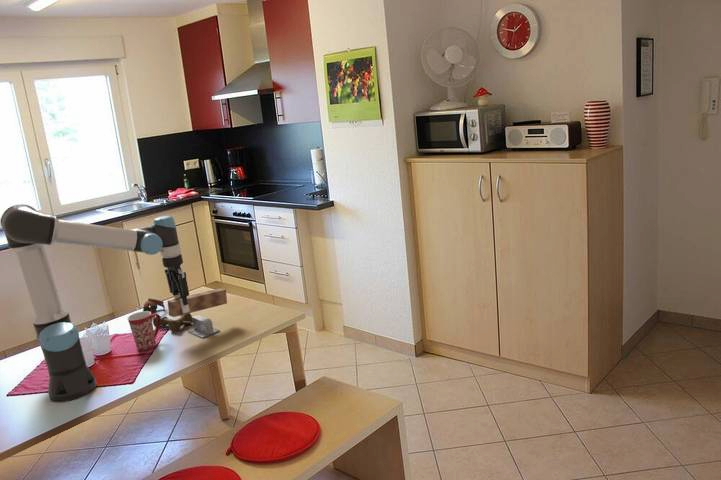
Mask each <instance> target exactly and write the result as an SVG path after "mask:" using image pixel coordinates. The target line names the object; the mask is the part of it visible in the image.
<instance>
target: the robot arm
mask: <svg viewBox="0 0 721 480" xmlns="http://www.w3.org/2000/svg"><path fill="white" fill-rule="evenodd" d="M0 225H1V228H2V230H3V232H4V235H5V239H6V242H7V245H8V248H9V250H11V251H14V252H15V253H16V256H17V259H18V263H19V266H20V269H21V271H22V272H21V273H22V275H23V276H22V277H23V278H24V279H23V280H24V283H25V286H26V289H27V291H28V295H29V298H30V301H31V302H30V303H31V304H32V308H33V312H34V315H35V317H34V318H33V320H32V325H33V328H34V330H35V334H36V336H35V337H36V340H37V342H38V344H39V346H40V349H41V350H42V354H43V358H44V361H45V364H46V368H47V372H48V375H49V379H48V388H47V394H48V397H49V398H48V399H49V400H50V401H52V402H55V403H61V402H67V401H72V400H75V399H78V398H79V399H80V398H82V397H83V396H85V395H87V394H89V393H91V392H92V391H94V389H95V388H96V387H97V385H98V383H97V380H96V377H95V376H94V374H93V372H92V371H91V370H90V368H89V367H88V365H87V362H86V359H85V356H84V355H85V354H84V351H83V348H82V344H81V339H80V332H79V330H78V328H77V326H76V325H75V324H73V323H72V319H71V317H70V314H69V311H68V310H66V309H64V308H63V307H62V304H61V300H60V299H61V298H60V295H59V294H58V289H57V286H56V282H55V280H54V276H53V273H52V270H51V266H50V263H49V260H48V259H49V258H48V255H47V253H46V250H45V245H47V246H48V245H49V246H51V245H53V244H55V243H59V244H65V245H66V244H67V245H77V246H85V247H86V246H87V247H95V248H100V249H101V248H102V249H111V250H120V251H129V252H130V251H131V252H137V253H144V254H146V255H150V256H153V255H157V254H158V253H160V257H162V258H161V261H162V266H163V267H164V268H166V269H164V273H165V276H166V280H167V285H168V289H169V293H170V294H172V295H173V299H177V298H179V299H180V303H181V308H182V312H183V314H184V313H187V312H189V311H190V310H189V305H188V301H187V296H190V291H189V286H188V281H187V273H186V272H185V271H184V272H183V270H182V267H181V265H183V263H184V260H183V255H182V254H181V253H182V250H181V249H182V248H181V245H180V242H179V237H178V232H177V226H176V221H175V219H174V217H173V216H171V215H162V216H159V217H156V218H153V224H151V225H145V226H142V227H137V228H131V229H129V228H121V227H116V226H115V227H114V226H106V225H99V224H93V223H92V224H91V223H84V222H79V221H78V222H77V221H71V220H63V219H58V218H57V217H56V215H49V214H45V213H41V212H39V211H37V209H36V208H34V207H33V206H30V205H28V204H15V205H12V206H9V207H8V208H7V209H6V210H4V212H3V213H2V214H1V217H0Z"/></svg>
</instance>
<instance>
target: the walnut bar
mask: <svg viewBox="0 0 721 480" xmlns="http://www.w3.org/2000/svg"><path fill="white" fill-rule="evenodd" d="M227 298H228V297H227V289H225V288H221V287H220V288H215V289H212V290H207V291H201V292H198V293H196V294H195V293H194V294H189V296H187V301H188V305H189V310H190V311H189V312H187V313H184V314H188V313H190V314H191V313H194V312H195V313H196V312H199V311H203V310H207V309H210V308H215V307H219V306H222V305H226V304H227V305H228V299H227ZM167 308H168V316H170V317H173V318H176V317H181V315H184V314H183V312H182V308H181V303H180V299H179V298H177V299H174V298H173V299H169V300H167Z"/></svg>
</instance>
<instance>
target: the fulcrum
mask: <svg viewBox="0 0 721 480" xmlns="http://www.w3.org/2000/svg"><path fill="white" fill-rule="evenodd" d="M191 318H192V323H191V324H192V326H193V328H191V329H190V330H187V333H188V334H191V335H194V336H196V337H198V338H200V339H206V338H208V337H210V336H212V335H216V334H217V333H220V332H221V331H220V329H217V328H215V327H214V326H213V322H212V319H211V318H208V317H205V316H202V315H200V314H195V315H192V317H191Z"/></svg>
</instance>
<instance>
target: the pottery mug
mask: <svg viewBox="0 0 721 480" xmlns="http://www.w3.org/2000/svg"><path fill="white" fill-rule="evenodd" d="M158 307H161V308H163V311H165V308H166V307H165V301H164V300H160V299H154V298H150V297H149V298H148V299H147V301H145V302H144V304H143V307H142V311H149V312H151V315H152V314H154V313H156V314H157V309H158Z"/></svg>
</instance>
